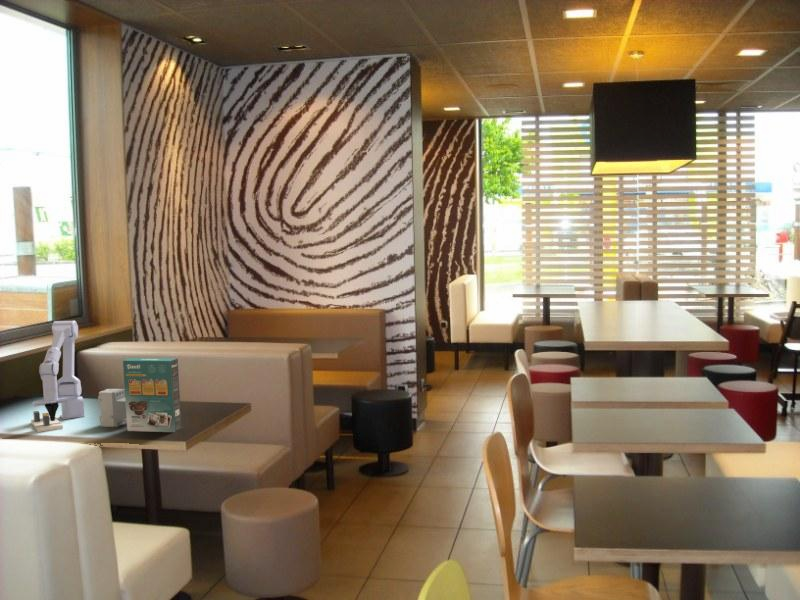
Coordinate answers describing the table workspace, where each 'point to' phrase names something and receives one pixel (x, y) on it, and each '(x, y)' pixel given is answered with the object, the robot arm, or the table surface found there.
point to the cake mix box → (152, 394)
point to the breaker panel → (40, 426)
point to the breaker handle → (46, 419)
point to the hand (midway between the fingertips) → (52, 420)
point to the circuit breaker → (112, 407)
